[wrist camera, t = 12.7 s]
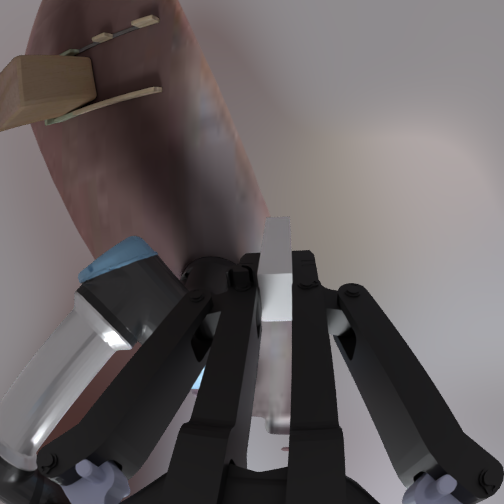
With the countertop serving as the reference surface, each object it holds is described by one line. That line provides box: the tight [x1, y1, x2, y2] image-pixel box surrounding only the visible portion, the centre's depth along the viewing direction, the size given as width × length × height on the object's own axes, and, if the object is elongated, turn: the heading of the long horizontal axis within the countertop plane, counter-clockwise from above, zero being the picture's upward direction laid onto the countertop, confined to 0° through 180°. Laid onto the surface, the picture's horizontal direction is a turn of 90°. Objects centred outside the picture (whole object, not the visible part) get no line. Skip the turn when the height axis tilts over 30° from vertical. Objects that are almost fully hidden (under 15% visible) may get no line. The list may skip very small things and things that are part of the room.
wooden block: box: [0, 55, 97, 132], centre depth 30 cm, size 10×10×20 cm
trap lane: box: [45, 15, 162, 126], centre depth 35 cm, size 15×26×5 cm, turn 93°
